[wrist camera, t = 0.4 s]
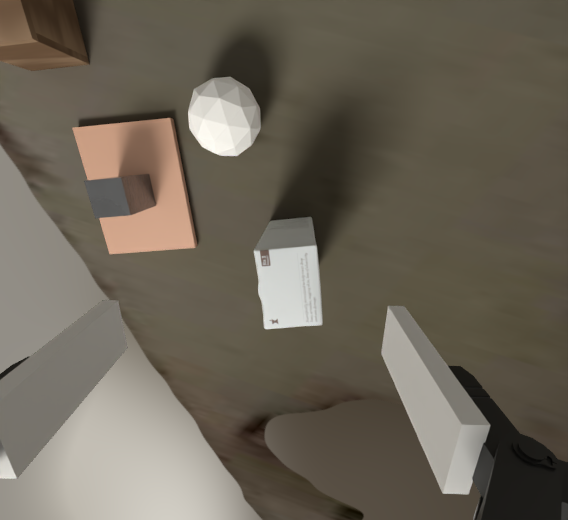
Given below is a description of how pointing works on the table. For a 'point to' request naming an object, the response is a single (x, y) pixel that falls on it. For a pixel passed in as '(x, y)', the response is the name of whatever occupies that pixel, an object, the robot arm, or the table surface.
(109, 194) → the post
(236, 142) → the ball
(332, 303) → the table surface
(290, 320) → the skincare box
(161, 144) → the base plate
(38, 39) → the cardboard carton
